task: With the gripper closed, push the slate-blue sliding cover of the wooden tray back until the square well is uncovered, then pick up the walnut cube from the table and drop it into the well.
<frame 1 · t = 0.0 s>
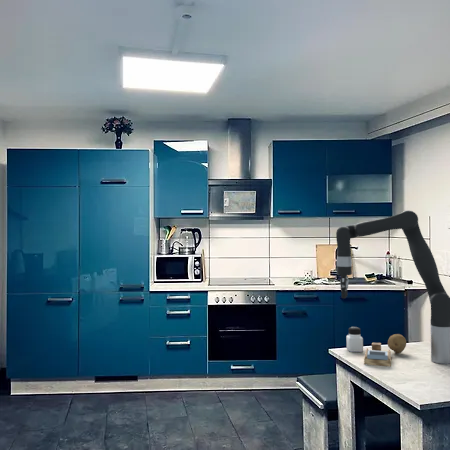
hand: (344, 297, 247), 29 cm above the table, fingers open, 8 cm apart
medicine bottle: (354, 350, 256), on the table
natural sponge: (396, 353, 249), on the table
cover: (377, 353, 232), point 5 cm above the table, slide at 0.0 cm
wooden tray: (377, 360, 236), on the table
block: (376, 352, 252), on the table
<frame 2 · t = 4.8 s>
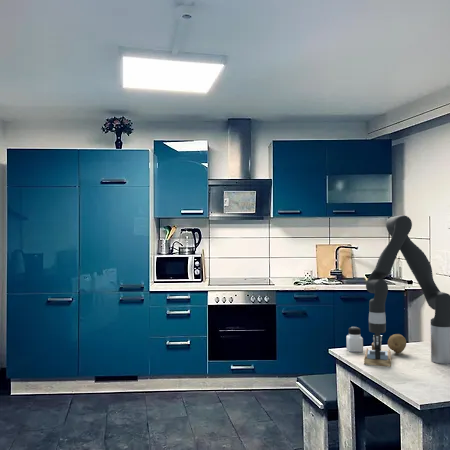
hand: (377, 358, 226), 3 cm above the table, fingers closed
cover: (377, 353, 232), point 5 cm above the table, slide at 0.4 cm, touching gripper
everything else where it was.
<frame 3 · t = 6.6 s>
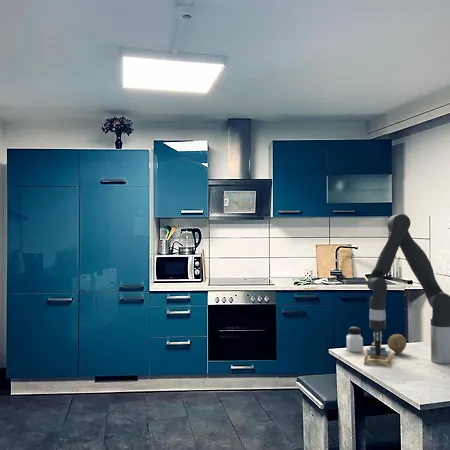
hand: (377, 354, 233), 3 cm above the table, fingers closed
cover: (377, 349, 240), point 5 cm above the table, slide at 8.6 cm, touching gripper
everything else where it was.
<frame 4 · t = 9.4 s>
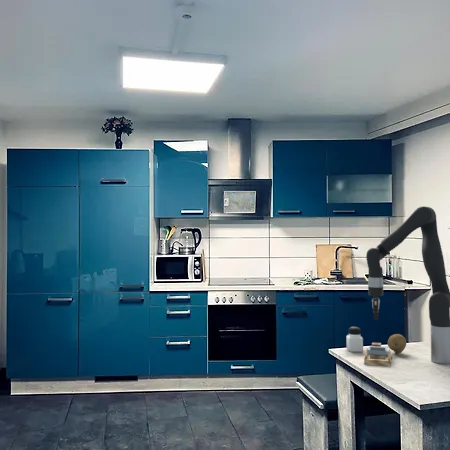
hand: (376, 318, 252), 17 cm above the table, fingers open, 4 cm apart
cover: (377, 349, 240), point 5 cm above the table, slide at 8.7 cm
everything else where it was.
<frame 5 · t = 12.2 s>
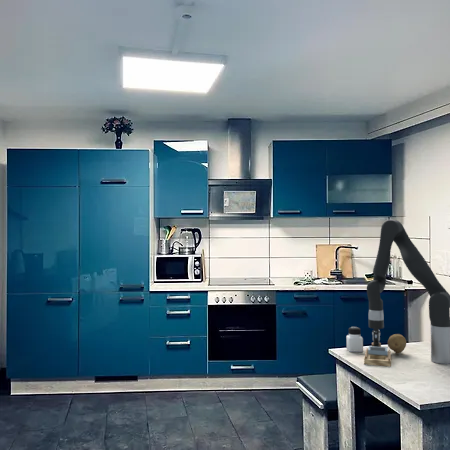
hand: (376, 351, 252), 0 cm above the table, fingers closed on block, 4 cm apart
block: (376, 352, 252), on the table, touching gripper
everything else where it was.
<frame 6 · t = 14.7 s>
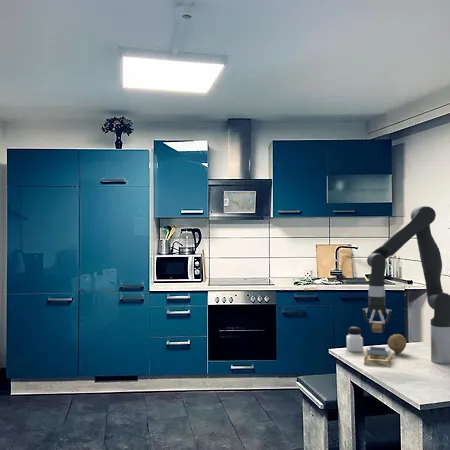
hand: (377, 330, 232), 15 cm above the table, fingers closed on block, 4 cm apart
block: (377, 331, 232), point 15 cm above the table, touching gripper
everything else where it was.
when the fingers open (4 cm above the table, at t = 17.2 s): block drops 3 cm, resting on wooden tray.
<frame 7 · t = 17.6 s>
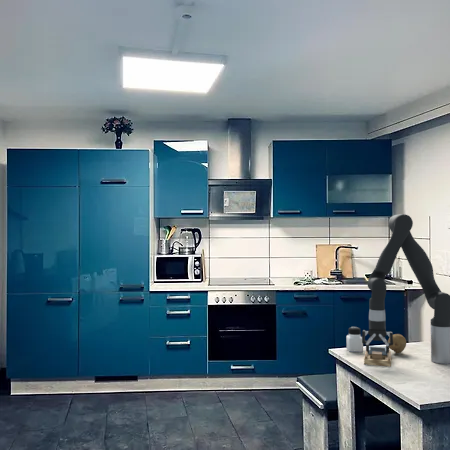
hand: (377, 353, 232), 5 cm above the table, fingers open, 8 cm apart
block: (377, 362, 232), resting on wooden tray
everything else where it was.
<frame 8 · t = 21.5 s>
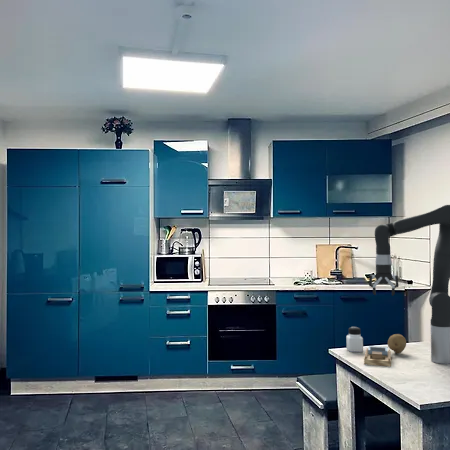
hand: (383, 295, 247), 30 cm above the table, fingers open, 8 cm apart
nothing on the table moved.
at the end: cover slide at 8.7 cm; block 0.2 cm from the target spot on the wooden tray, point 0.2 cm above the wooden tray's base; the gripper is holding nothing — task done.
